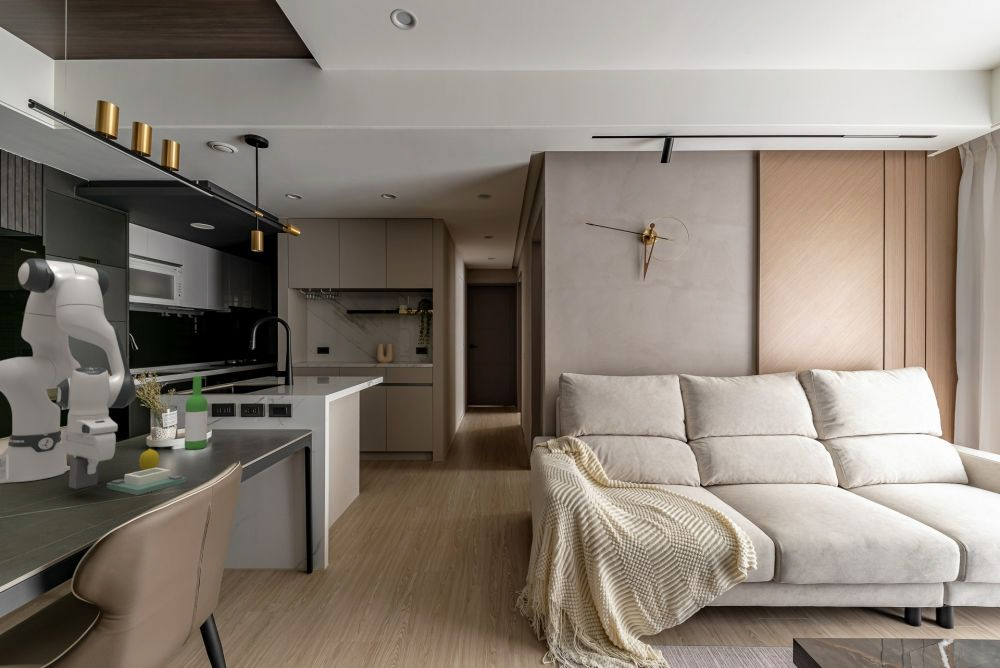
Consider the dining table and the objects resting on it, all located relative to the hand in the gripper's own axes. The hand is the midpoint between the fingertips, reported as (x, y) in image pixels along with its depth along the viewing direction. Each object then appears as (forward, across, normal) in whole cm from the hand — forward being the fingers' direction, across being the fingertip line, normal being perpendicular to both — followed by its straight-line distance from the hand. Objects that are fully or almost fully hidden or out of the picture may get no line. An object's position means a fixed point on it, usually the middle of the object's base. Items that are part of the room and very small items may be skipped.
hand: (85, 472), depth 134 cm
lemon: (+7, -10, +22) cm, 25 cm away
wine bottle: (+7, -32, +53) cm, 62 cm away
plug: (+4, 0, 0) cm, 4 cm away
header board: (+6, +5, +14) cm, 16 cm away
